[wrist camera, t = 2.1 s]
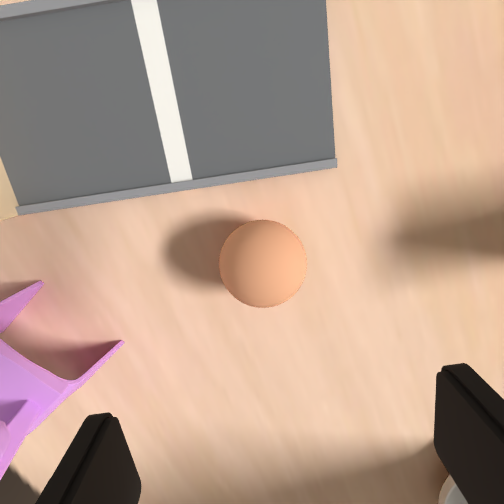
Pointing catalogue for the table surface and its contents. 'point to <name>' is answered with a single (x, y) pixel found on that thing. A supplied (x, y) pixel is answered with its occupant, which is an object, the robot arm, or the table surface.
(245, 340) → the table surface
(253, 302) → the ball
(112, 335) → the table surface
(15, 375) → the toy chair
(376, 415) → the table surface
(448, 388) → the robot arm
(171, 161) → the lane
